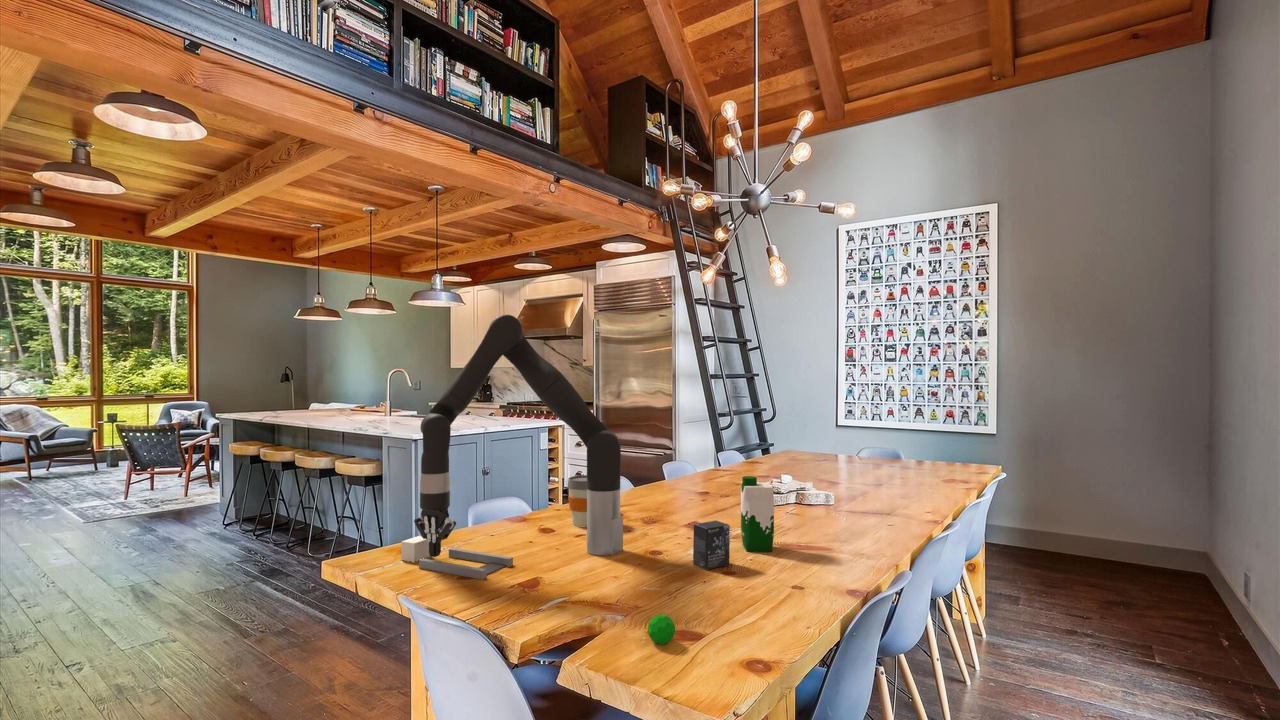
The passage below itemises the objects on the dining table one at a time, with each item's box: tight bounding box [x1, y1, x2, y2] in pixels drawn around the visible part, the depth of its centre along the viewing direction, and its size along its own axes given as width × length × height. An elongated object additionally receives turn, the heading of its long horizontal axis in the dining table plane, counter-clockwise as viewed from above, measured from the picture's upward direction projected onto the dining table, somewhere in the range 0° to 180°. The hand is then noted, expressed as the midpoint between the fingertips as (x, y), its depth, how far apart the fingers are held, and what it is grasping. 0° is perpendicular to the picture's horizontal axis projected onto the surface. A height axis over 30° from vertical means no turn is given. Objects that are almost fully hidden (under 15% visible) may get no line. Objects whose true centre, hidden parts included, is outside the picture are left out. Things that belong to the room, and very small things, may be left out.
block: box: [400, 535, 431, 563], centre depth 160 cm, size 4×6×5 cm
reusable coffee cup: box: [566, 474, 587, 528], centre depth 197 cm, size 13×13×15 cm
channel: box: [418, 547, 514, 580], centre depth 152 cm, size 20×12×2 cm, turn 65°
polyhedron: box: [647, 614, 676, 646], centre depth 109 cm, size 5×5×5 cm
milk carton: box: [740, 475, 775, 553], centre depth 169 cm, size 9×9×20 cm
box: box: [692, 520, 731, 571], centre depth 154 cm, size 8×6×11 cm
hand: (434, 555), depth 157 cm, fingers closed
